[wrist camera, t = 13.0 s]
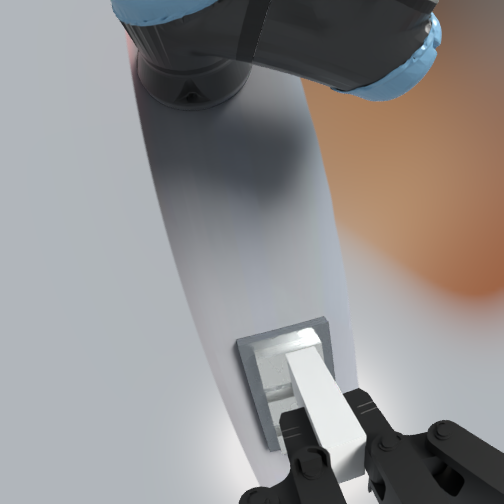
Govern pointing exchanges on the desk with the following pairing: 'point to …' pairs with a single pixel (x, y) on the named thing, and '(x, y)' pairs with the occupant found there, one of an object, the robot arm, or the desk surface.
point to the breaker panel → (274, 340)
